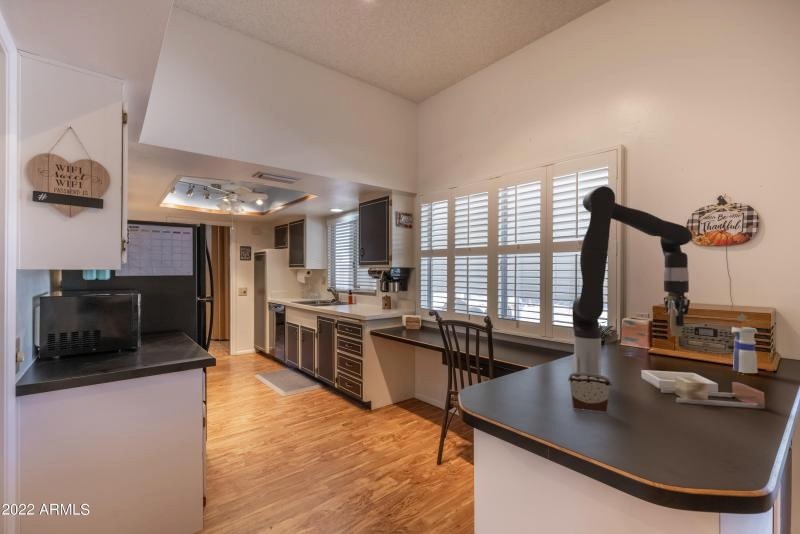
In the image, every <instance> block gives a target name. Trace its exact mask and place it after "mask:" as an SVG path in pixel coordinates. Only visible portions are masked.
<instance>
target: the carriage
mask: <svg viewBox="0 0 800 534" xmlns="http://www.w3.org/2000/svg"><path fill="white" fill-rule="evenodd" d="M675 395H677V396H678V397H679V398H686V399H700V400H709V396H708V384H707V383H705V382H703V381H701V380H699V379H697V378H692V377H676V376H675Z"/></svg>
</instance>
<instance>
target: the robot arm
mask: <svg viewBox="0 0 800 534" xmlns="http://www.w3.org/2000/svg"><path fill="white" fill-rule="evenodd" d="M582 205H583V208H584V209H585V210H586V211H587V212H589V213H590V217H589V223H588V227H587V230H586V232H585V234H584V237H583V239H582V242H581V248H580V249H581V250H580V257H579V265H580V274H581V279H582V280H581V281H582V282H581V283H582V284H581V285H582V286H581V292H580V295H579V296H578V297H576V298H575V299H574V301H573V304H572V310H571V311H572V313H571V314H572V327H573V328H572V329H573V332H574V333H573V335H574V338H573V339H574V340H573V341H574V342H573V344H574V345H573V347H574V349H573V350H574V351H573V352H574V353H573V354H572V373H591V374H597V375H601V376H602V333H601V329H600V325H599V318H600V317H601V316H602V315H603V313H604V282H605V276H606V269H607V263H608V253H609V240H610V232H611V231H610V230H611V222H612V220H614V221H617V222H620V223H622V224H625V225H627V226H629V227H630V228H631V227H632V228H633V229H635V230H638V231H640V232H642V233H644V234H646V235H648V236H651V237H660V241H659V242H660V247H661V250H662V253H663V257H664V271H663V291H664V293H668V294H667V296H673V297H676V301H675V298H673V297H672V303H673V309H674V310H675V312H676V325H677V326H683V327H684V326H685V325H684V324H685V323H684V317H685V316H688V313H689V309H690V302H691V301H690V299H689V298H687V299H685V297H686V296H685V294H687V293H689V292H690V289H689V288H690V285H689V283H690V282H689V281H690V280H689V279H690V277H689V269H688V267H689V265H688V263H689V261H688V258H689V257H688V254H687V253H686V252H683V251H682V247H681V246H684V245H687V244H689V243H690V242H691V241H692V239H693V235H692V232H691V230H690V229H689V228H687V227H686V226H684V225H683V224H678V223H675V222H671V221H669V220H664V219H662V218H659V217H658V216H655V215H653V214H651V213H650V212H649V213H648V212H646V211H643V210H640V209H636V208H633V207H632V208H631V207H629V206H624V205H623V204H622V205H621V204H619V203H618V202H616V194H615V192H614V191H613V189H612V188H610V187H609V186H607V185H606V186H605V185H604V186H599V187H596V188H594V189H593V190H590V191H589V192H587V193H586V194H585V196H584V197H583V198H582ZM663 302H664V307H665V312H666V313H667V314H668V315H669V317H668V318H669V324H670V314H671V302H670V301H668V300H667V299H666V296H665V297H663ZM678 310H679V311H678Z"/></svg>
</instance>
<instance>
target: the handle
mask: <svg viewBox="0 0 800 534" xmlns="http://www.w3.org/2000/svg"><path fill="white" fill-rule="evenodd" d="M665 297H666V299H667V300H668V301H670V302H671V314H670V323H669V325H670V331H671V332H670V335H671V336H673V337H678V338H679V337H683V333H682V332H683V329H684V325H683V326H677V325H676V312H675V310H674V309H673V303H672V297H673V296H668V295H666V296H665ZM673 298H675V301H676V297H673ZM685 299H688V296H685ZM678 311H679V310H678Z"/></svg>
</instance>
